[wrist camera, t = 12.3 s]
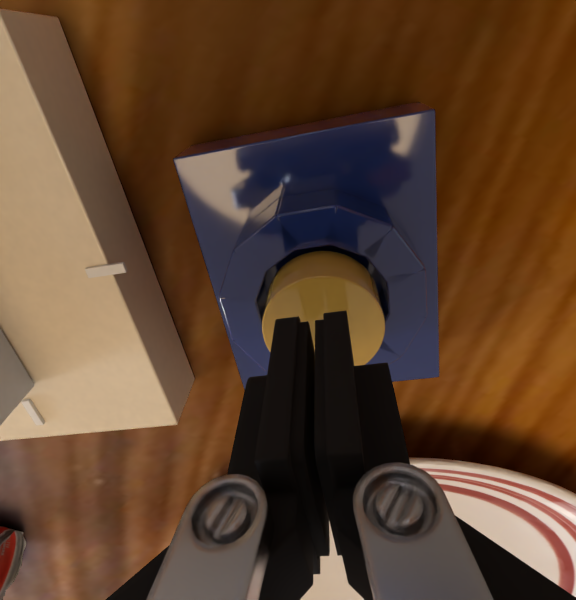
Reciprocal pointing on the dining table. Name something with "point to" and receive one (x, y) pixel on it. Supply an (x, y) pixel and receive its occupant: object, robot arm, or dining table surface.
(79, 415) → the plate
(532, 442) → the dining table surface
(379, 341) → the tap button
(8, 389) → the red-tipped grey bar
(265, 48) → the dining table surface
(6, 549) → the beverage can
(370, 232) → the tap button block
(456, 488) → the dinner plate
